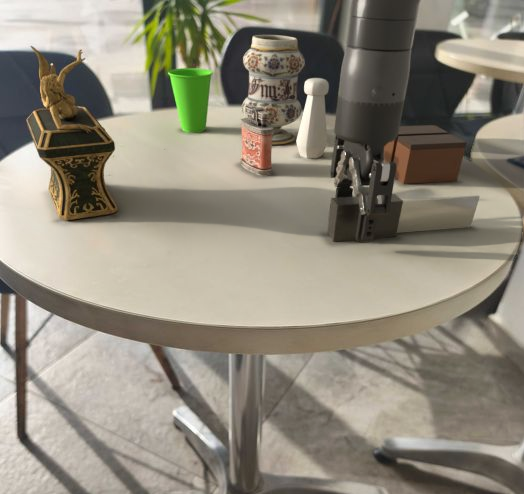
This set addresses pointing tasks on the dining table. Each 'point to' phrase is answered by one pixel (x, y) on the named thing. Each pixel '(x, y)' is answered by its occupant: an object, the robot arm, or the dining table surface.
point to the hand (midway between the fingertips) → (351, 227)
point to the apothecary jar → (274, 81)
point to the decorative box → (71, 148)
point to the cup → (191, 97)
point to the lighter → (256, 141)
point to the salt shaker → (313, 120)
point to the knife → (402, 216)
